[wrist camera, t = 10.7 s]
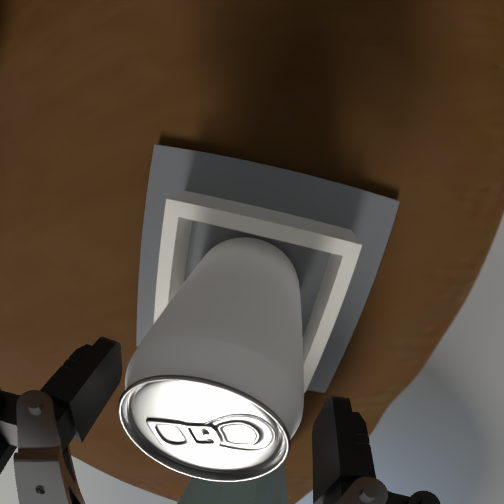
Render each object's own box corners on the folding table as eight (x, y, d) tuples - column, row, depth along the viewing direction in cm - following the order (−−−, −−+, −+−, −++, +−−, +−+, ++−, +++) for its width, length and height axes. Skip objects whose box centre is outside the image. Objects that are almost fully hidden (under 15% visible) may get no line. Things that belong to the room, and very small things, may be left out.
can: (307, 320, 20) (314, 483, 9) (213, 333, 21) (155, 480, 10) (288, 225, 18) (285, 353, 7) (184, 246, 19) (72, 365, 8)
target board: (158, 144, 18) (131, 144, 15) (396, 199, 17) (418, 211, 14) (139, 342, 23) (120, 369, 20) (324, 387, 22) (327, 421, 19)
